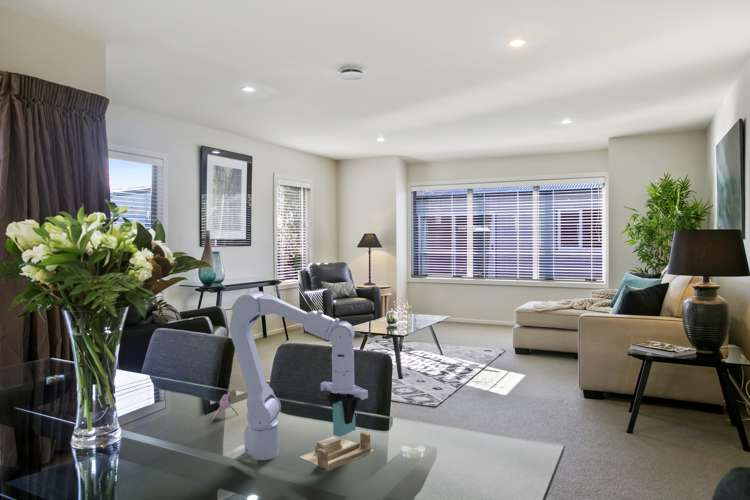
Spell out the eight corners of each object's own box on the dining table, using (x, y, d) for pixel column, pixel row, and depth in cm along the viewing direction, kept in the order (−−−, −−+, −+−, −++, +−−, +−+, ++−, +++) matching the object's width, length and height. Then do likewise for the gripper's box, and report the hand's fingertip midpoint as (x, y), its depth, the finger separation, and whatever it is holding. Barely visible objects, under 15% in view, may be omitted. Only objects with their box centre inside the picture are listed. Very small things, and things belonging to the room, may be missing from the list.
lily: (227, 411, 178) (212, 389, 176) (254, 400, 175) (240, 378, 173) (212, 434, 167) (196, 411, 165) (241, 423, 164) (225, 399, 162)
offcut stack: (314, 452, 137) (314, 443, 137) (333, 444, 142) (333, 435, 142) (323, 456, 135) (323, 447, 135) (342, 448, 139) (342, 439, 139)
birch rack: (299, 461, 135) (298, 441, 135) (344, 443, 146) (344, 424, 146) (329, 475, 126) (328, 454, 126) (374, 455, 138) (374, 435, 138)
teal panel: (333, 434, 132) (332, 403, 132) (348, 427, 137) (347, 397, 137) (340, 436, 131) (339, 405, 131) (355, 429, 136) (354, 399, 135)
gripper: (312, 369, 135) (313, 420, 135) (355, 377, 126) (356, 432, 126) (330, 363, 140) (331, 413, 141) (372, 371, 132) (373, 423, 132)
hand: (344, 421), depth 134 cm, fingers closed on teal panel, 2 cm apart
